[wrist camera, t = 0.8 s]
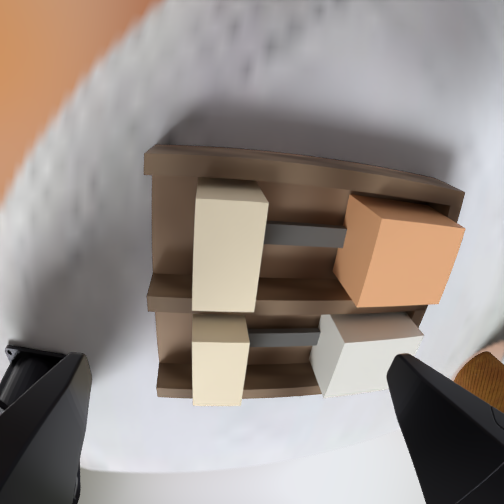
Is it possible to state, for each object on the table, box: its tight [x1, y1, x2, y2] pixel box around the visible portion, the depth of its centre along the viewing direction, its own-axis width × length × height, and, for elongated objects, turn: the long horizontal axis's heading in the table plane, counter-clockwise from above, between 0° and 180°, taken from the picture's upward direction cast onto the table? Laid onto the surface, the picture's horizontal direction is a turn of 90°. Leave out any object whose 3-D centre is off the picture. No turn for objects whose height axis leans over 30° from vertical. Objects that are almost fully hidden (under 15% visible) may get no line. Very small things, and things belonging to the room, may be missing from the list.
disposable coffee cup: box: [454, 352, 504, 413], centre depth 26 cm, size 10×10×12 cm
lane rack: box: [144, 144, 465, 399], centre depth 20 cm, size 18×16×3 cm
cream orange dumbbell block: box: [192, 177, 465, 312], centre depth 17 cm, size 14×6×4 cm, turn 84°
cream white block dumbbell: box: [192, 312, 424, 406], centre depth 20 cm, size 14×6×4 cm, turn 84°
